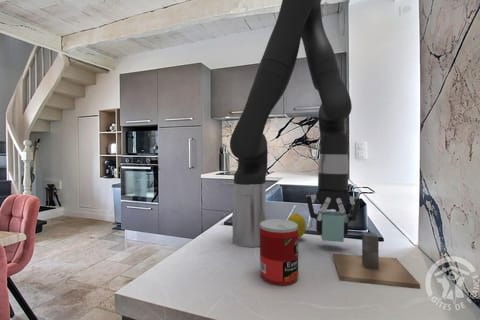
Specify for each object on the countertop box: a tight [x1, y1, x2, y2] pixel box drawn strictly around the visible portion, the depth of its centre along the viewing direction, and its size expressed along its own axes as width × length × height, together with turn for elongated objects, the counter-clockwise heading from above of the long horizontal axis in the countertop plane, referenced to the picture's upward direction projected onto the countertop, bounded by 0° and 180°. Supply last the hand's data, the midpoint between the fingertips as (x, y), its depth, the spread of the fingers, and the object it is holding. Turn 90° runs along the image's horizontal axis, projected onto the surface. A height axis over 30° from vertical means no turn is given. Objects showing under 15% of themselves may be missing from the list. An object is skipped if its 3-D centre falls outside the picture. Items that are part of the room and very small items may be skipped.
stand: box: [332, 231, 421, 289], centre depth 53 cm, size 14×12×8 cm
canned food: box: [259, 218, 299, 286], centre depth 51 cm, size 8×8×11 cm
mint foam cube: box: [320, 210, 345, 243], centre depth 66 cm, size 5×5×7 cm
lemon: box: [287, 212, 307, 239], centre depth 74 cm, size 6×6×8 cm
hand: (331, 234), depth 66 cm, fingers closed on mint foam cube, 5 cm apart
